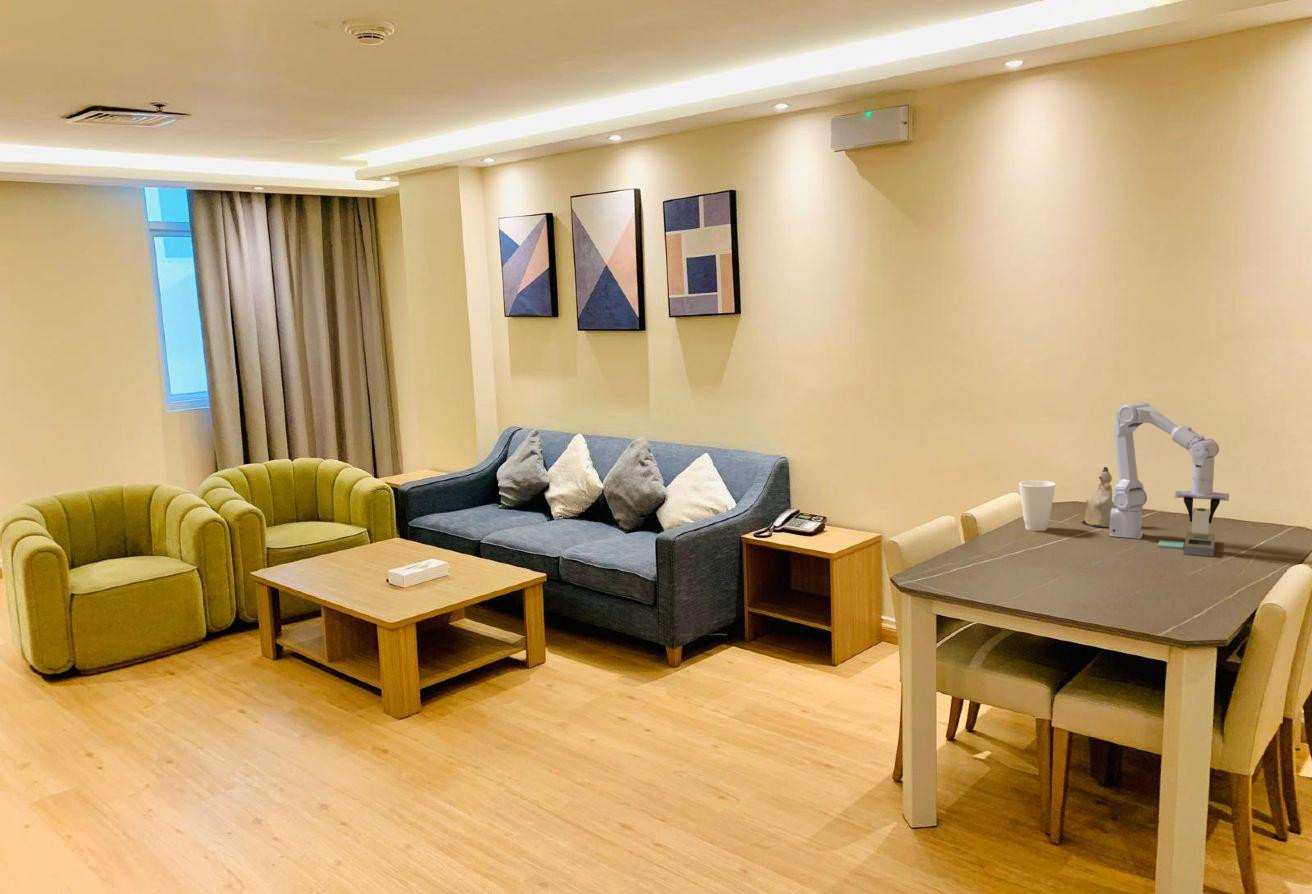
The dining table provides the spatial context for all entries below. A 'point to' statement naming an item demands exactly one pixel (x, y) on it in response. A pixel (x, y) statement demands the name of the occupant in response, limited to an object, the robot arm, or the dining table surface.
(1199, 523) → the cube with screw head
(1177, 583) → the dining table surface
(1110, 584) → the dining table surface
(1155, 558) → the dining table surface
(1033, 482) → the cup
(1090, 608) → the dining table surface
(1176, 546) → the mat
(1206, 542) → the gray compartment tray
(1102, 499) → the figurine
